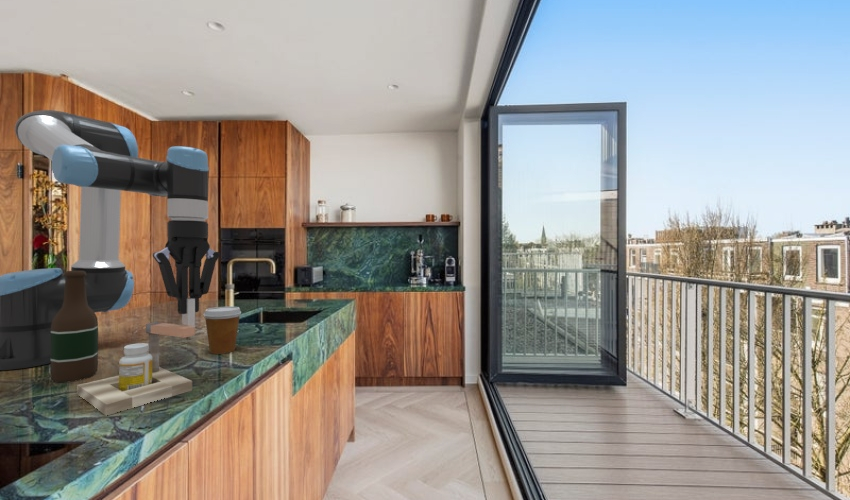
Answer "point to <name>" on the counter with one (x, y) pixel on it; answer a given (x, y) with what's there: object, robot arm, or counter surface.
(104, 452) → the counter surface
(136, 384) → the supplement bottle
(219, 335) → the disposable coffee cup
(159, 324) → the bar
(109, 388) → the keeper board
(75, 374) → the beer bottle
